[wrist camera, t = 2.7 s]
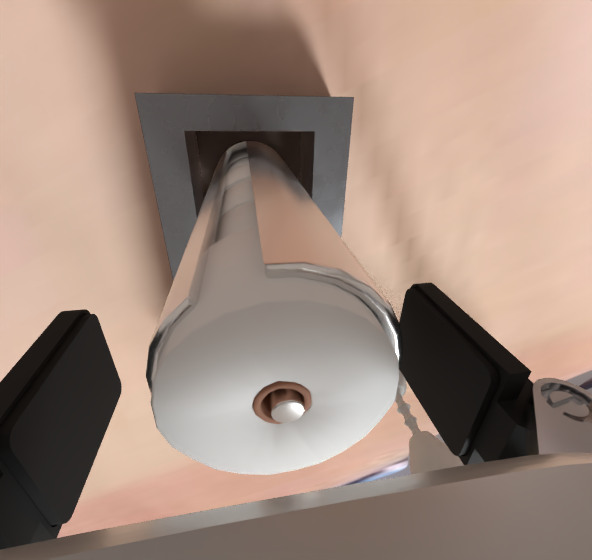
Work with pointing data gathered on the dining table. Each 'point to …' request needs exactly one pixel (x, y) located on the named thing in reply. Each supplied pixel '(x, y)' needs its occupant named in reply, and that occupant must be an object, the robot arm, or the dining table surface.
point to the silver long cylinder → (269, 329)
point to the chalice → (423, 441)
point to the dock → (240, 117)
